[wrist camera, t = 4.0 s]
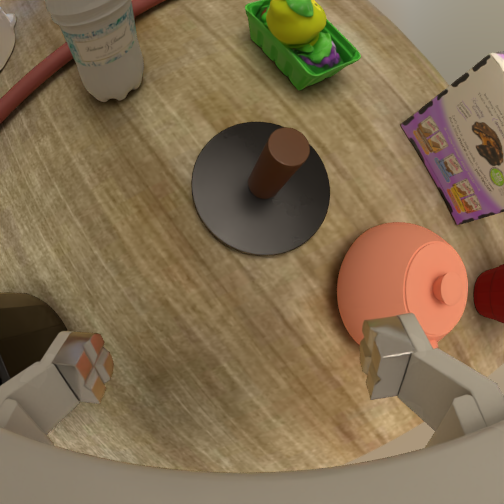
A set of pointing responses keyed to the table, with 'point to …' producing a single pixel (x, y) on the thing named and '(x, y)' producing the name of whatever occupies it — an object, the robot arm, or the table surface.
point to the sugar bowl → (402, 280)
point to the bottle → (101, 44)
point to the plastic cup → (490, 294)
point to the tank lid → (260, 188)
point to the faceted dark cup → (24, 332)
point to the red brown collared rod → (51, 68)
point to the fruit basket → (299, 40)
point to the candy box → (465, 140)
